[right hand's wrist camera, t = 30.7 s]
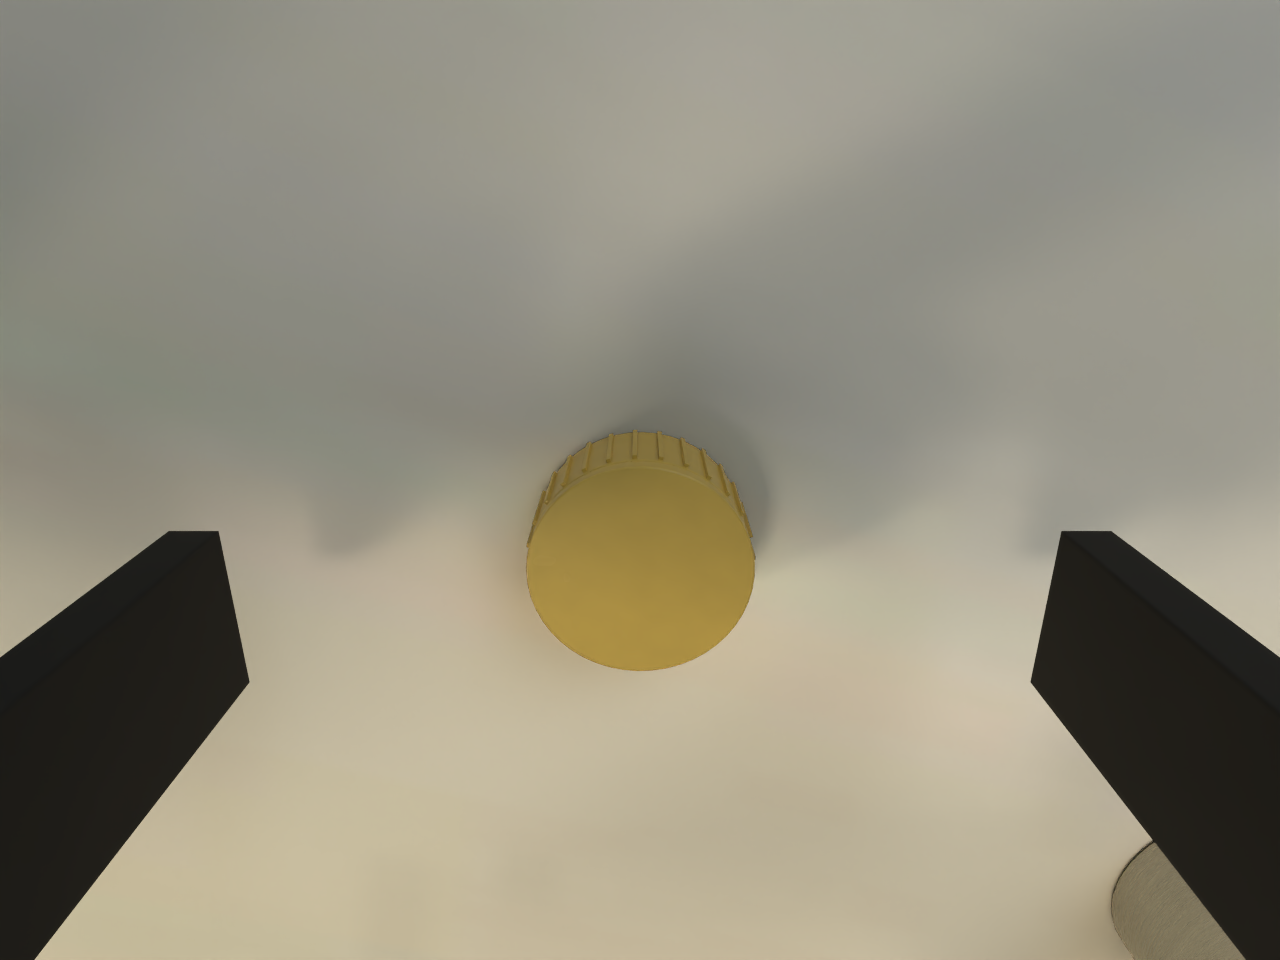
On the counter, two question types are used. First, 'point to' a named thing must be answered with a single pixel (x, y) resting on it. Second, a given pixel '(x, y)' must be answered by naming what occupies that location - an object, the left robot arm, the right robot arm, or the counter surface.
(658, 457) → the cap
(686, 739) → the counter surface
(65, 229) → the counter surface
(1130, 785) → the right robot arm
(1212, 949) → the bottle
